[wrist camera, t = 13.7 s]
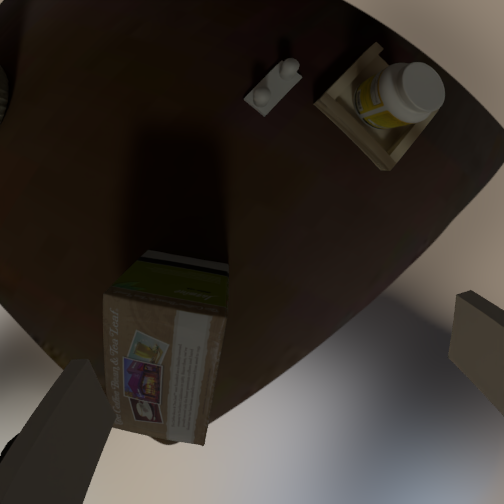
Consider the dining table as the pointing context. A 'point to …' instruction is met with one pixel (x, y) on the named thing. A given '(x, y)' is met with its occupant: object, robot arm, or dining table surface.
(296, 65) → the clip
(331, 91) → the square tray
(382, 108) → the pill bottle
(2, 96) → the canister
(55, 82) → the dining table surface
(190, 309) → the tea box
